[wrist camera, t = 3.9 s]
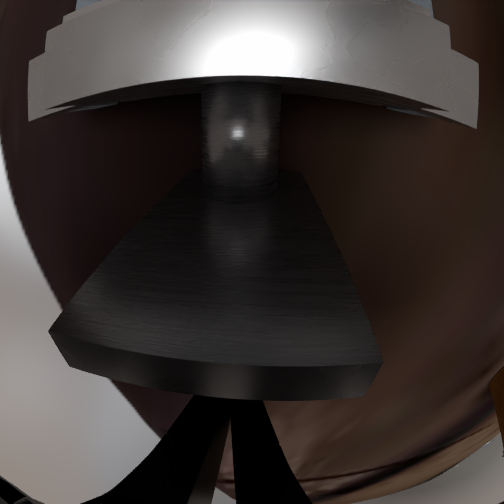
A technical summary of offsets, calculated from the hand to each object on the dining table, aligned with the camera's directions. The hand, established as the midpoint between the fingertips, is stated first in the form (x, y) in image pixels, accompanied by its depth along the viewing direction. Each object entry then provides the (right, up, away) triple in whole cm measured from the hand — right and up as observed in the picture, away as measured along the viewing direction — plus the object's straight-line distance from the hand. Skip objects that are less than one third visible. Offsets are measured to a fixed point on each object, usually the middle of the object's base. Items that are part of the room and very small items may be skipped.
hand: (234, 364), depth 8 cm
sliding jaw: (0, +9, +1) cm, 9 cm away
